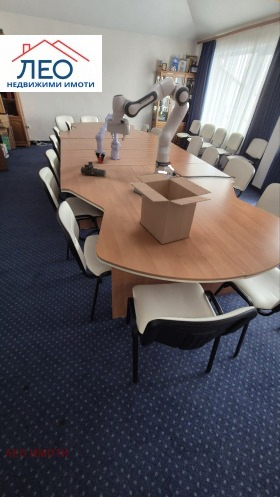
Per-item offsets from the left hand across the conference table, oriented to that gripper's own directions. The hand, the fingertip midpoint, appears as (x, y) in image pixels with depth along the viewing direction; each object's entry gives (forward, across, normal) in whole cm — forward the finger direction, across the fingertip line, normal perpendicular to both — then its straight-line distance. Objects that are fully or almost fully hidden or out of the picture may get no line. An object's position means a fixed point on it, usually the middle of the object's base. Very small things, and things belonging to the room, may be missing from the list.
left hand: (100, 160), depth 233 cm
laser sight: (+2, +22, -34) cm, 41 cm away
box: (+2, +120, -75) cm, 141 cm away
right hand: (-30, +44, -25) cm, 59 cm away
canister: (+2, 0, 0) cm, 2 cm away
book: (+2, +82, -30) cm, 87 cm away
